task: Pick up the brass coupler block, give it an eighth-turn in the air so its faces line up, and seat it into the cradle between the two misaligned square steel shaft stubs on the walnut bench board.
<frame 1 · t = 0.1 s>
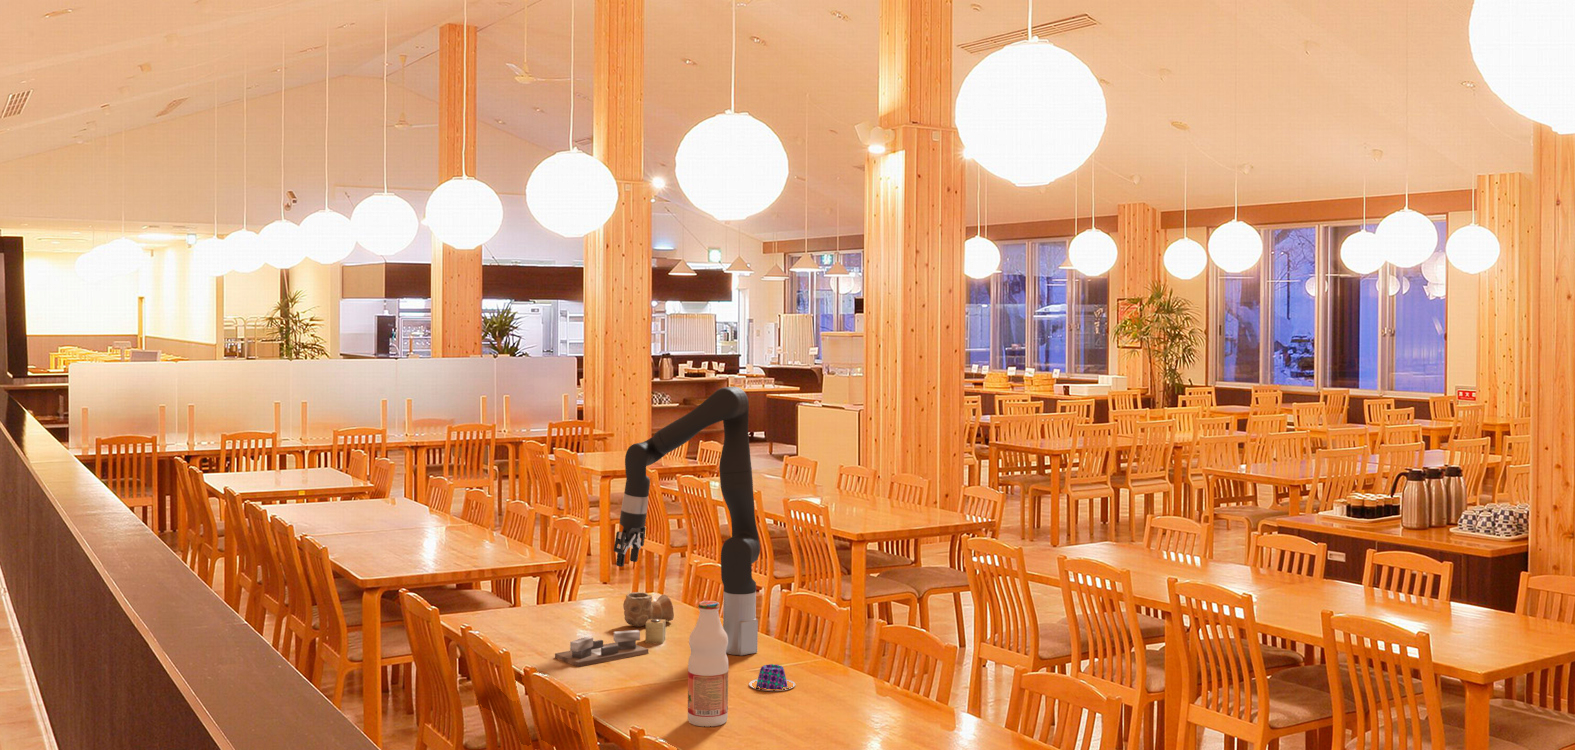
hand: (626, 563, 373), 22 cm above the table, tool pointing down, fingers open, 8 cm apart
fruit juice: (707, 722, 298), on the table
pudding: (772, 687, 328), on the table
pipe: (648, 625, 392), on the table
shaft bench: (602, 655, 355), on the table
coupler: (655, 641, 372), on the table
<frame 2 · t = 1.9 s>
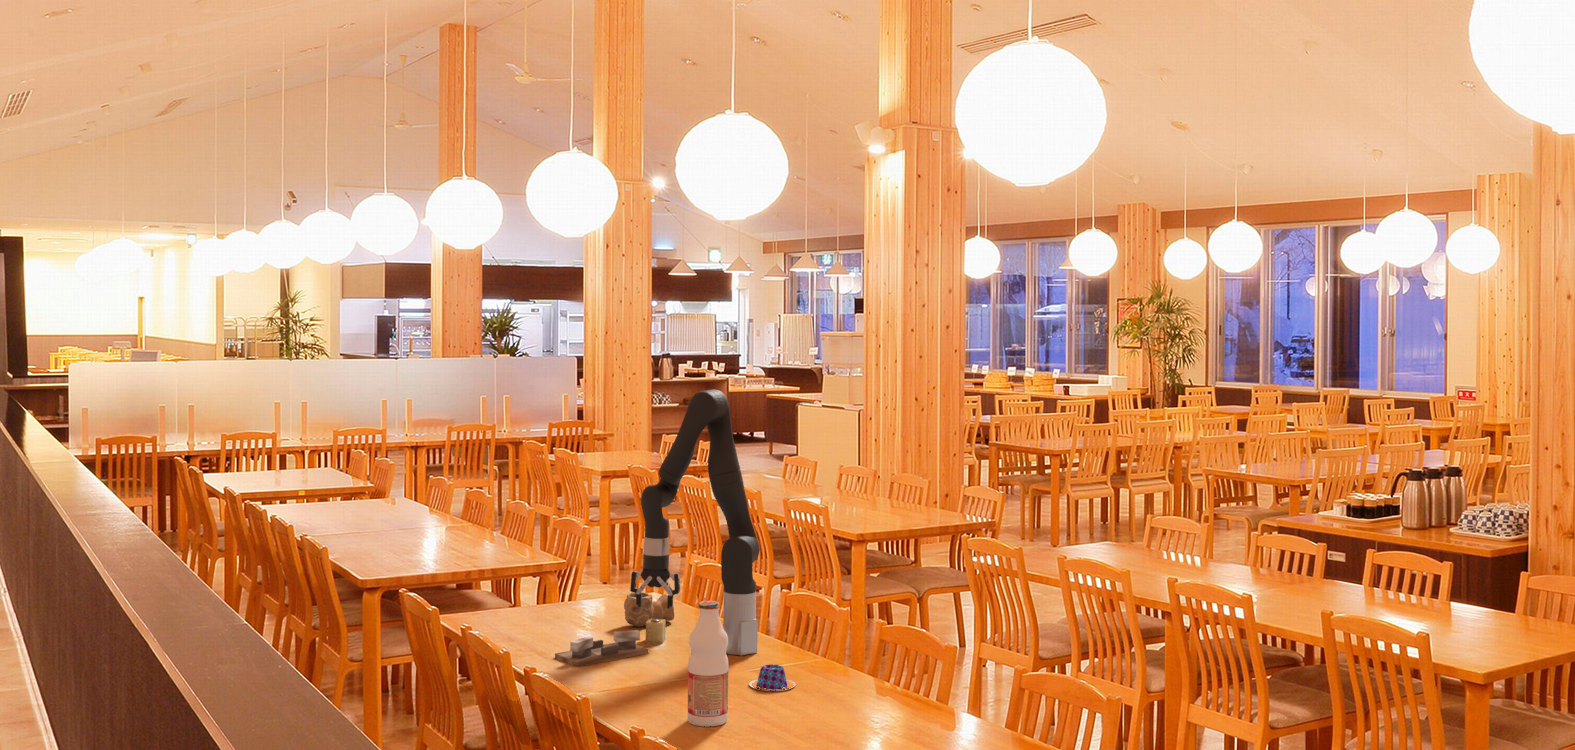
hand: (654, 607, 372), 10 cm above the table, tool pointing down, fingers open, 8 cm apart
nothing on the table moved.
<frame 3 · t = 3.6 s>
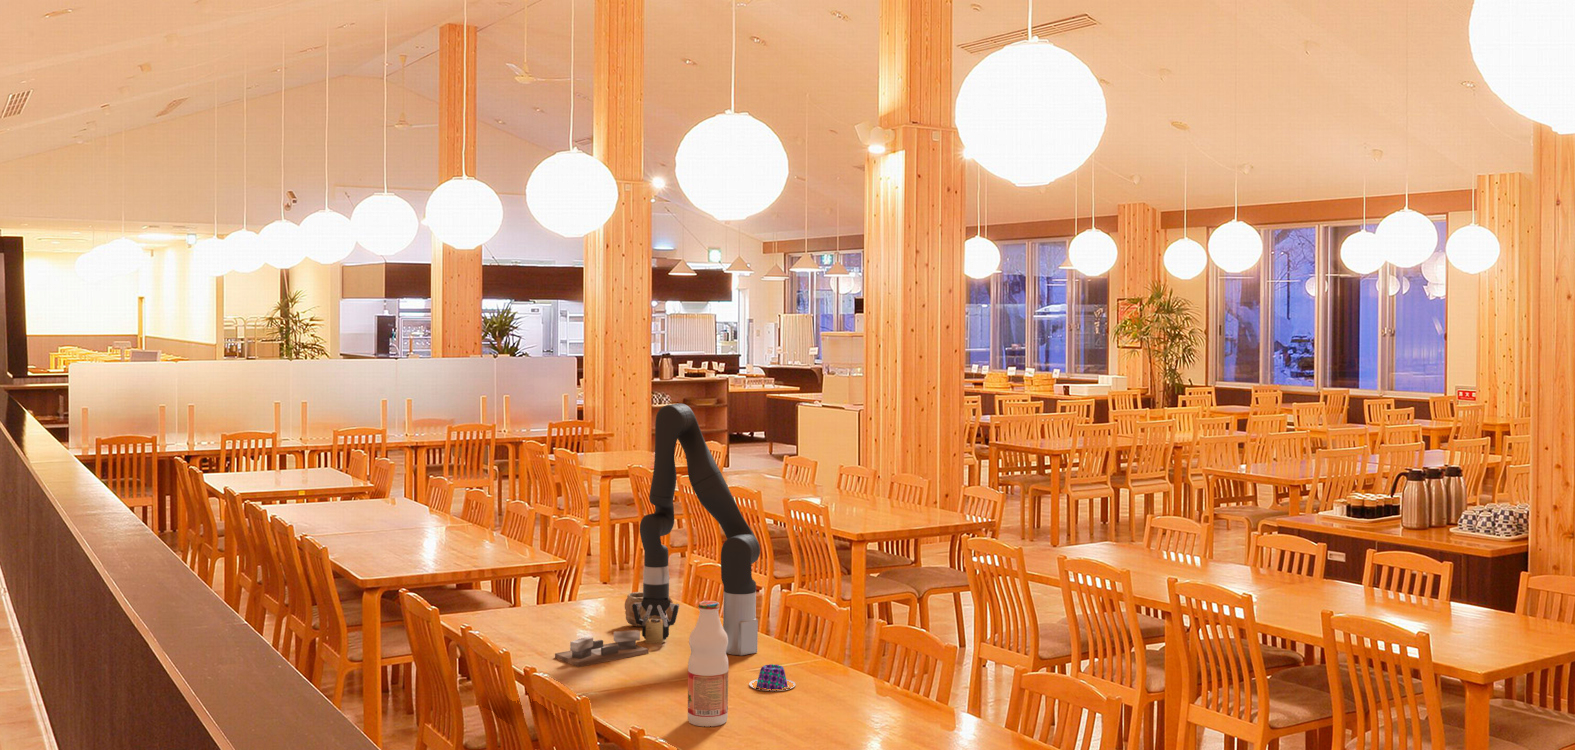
hand: (655, 638, 372), 1 cm above the table, tool pointing down, fingers closed on coupler, 5 cm apart
coupler: (655, 641, 372), on the table, touching gripper
everything else where it was.
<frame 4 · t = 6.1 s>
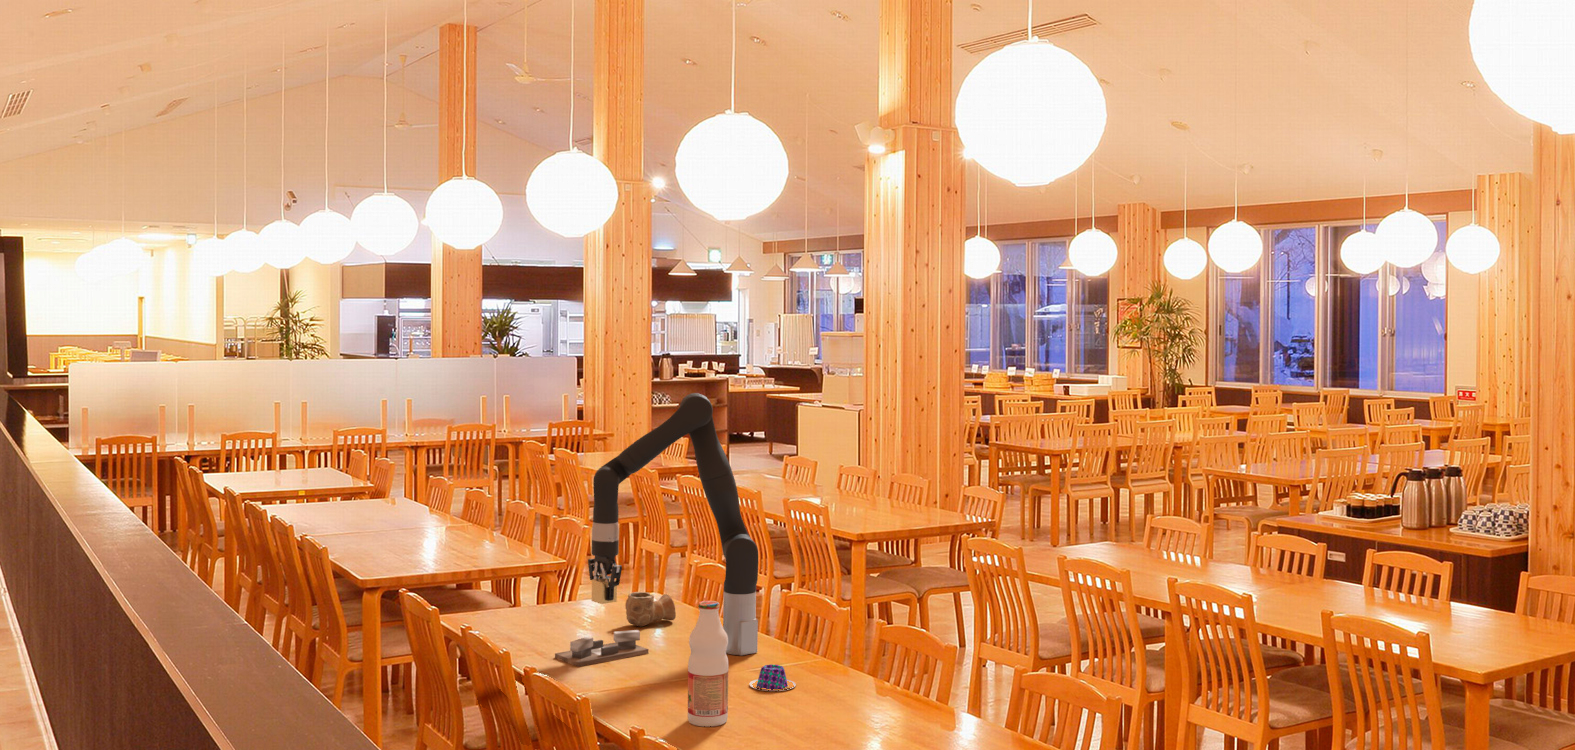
hand: (604, 598, 356), 16 cm above the table, tool pointing down, fingers closed on coupler, 5 cm apart
coupler: (604, 601, 356), point 15 cm above the table, touching gripper
everything else where it was.
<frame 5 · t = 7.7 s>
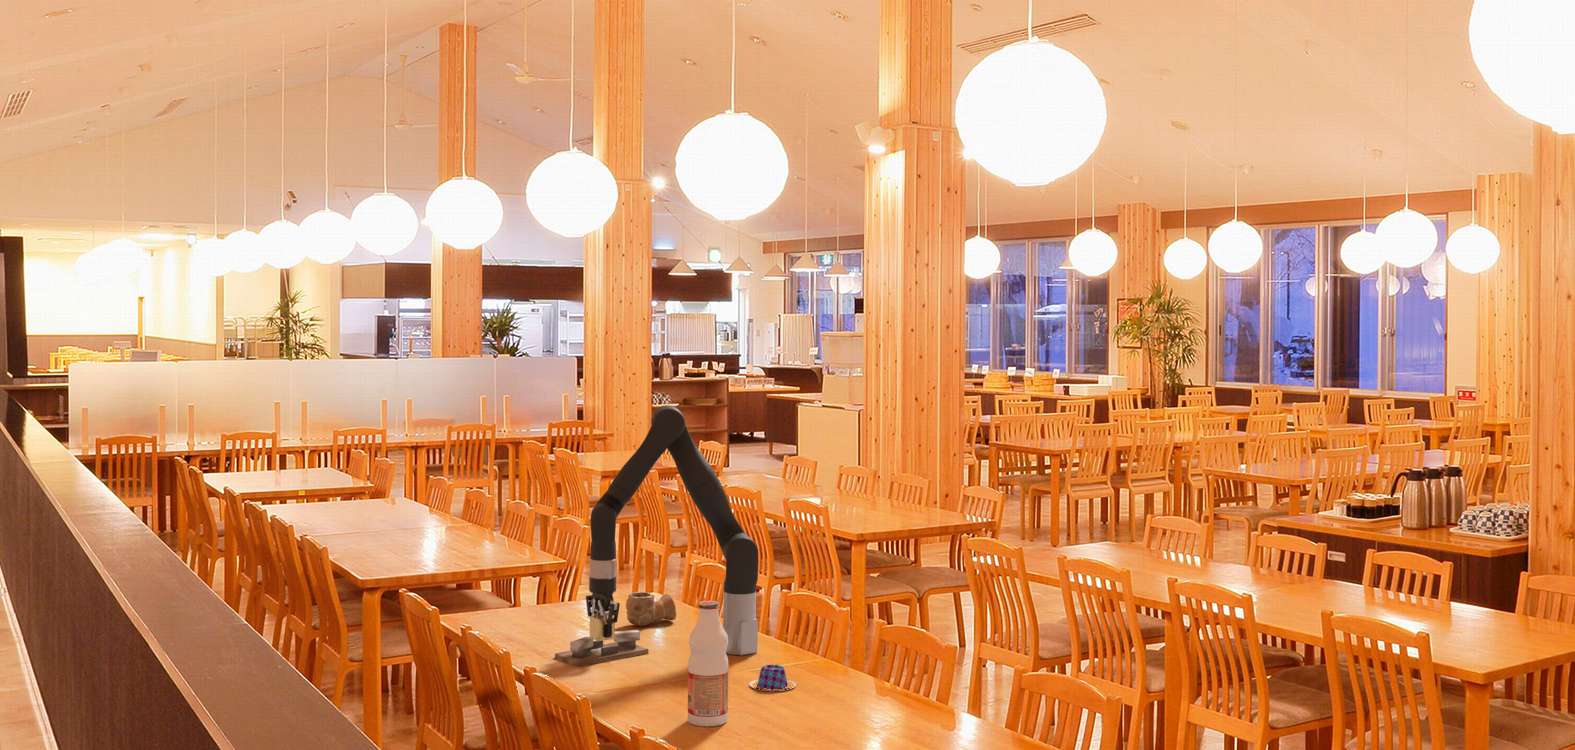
hand: (602, 635, 355), 6 cm above the table, tool pointing down, fingers closed on coupler, 5 cm apart
coupler: (602, 638, 355), point 5 cm above the table, touching gripper
everything else where it was.
when the fingers open (5 cm above the table, at t = 8.8 s): coupler drops 2 cm, resting on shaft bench.
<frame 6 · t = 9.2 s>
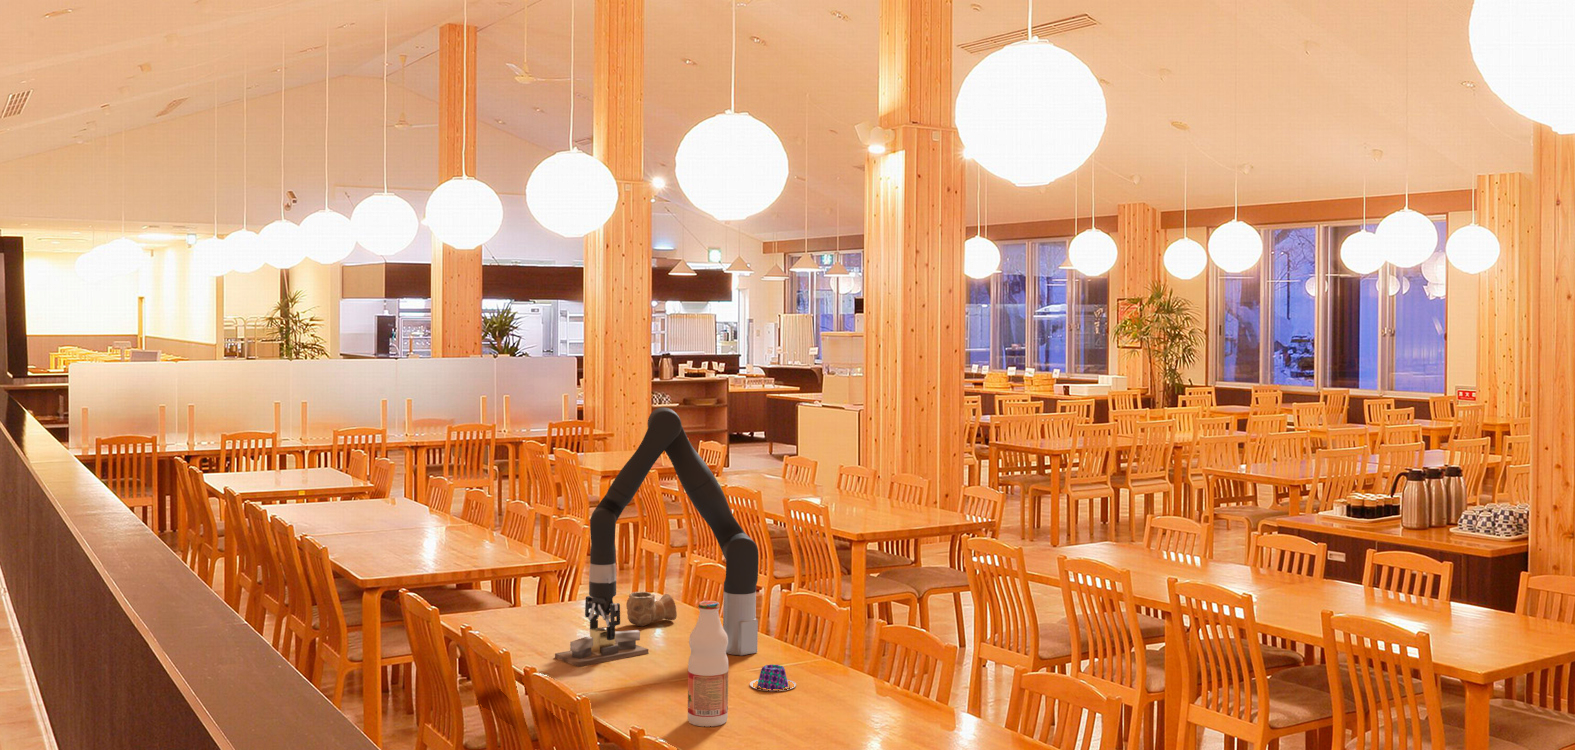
hand: (602, 636, 355), 5 cm above the table, tool pointing down, fingers open, 8 cm apart
coupler: (602, 650, 355), point 1 cm above the table, touching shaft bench
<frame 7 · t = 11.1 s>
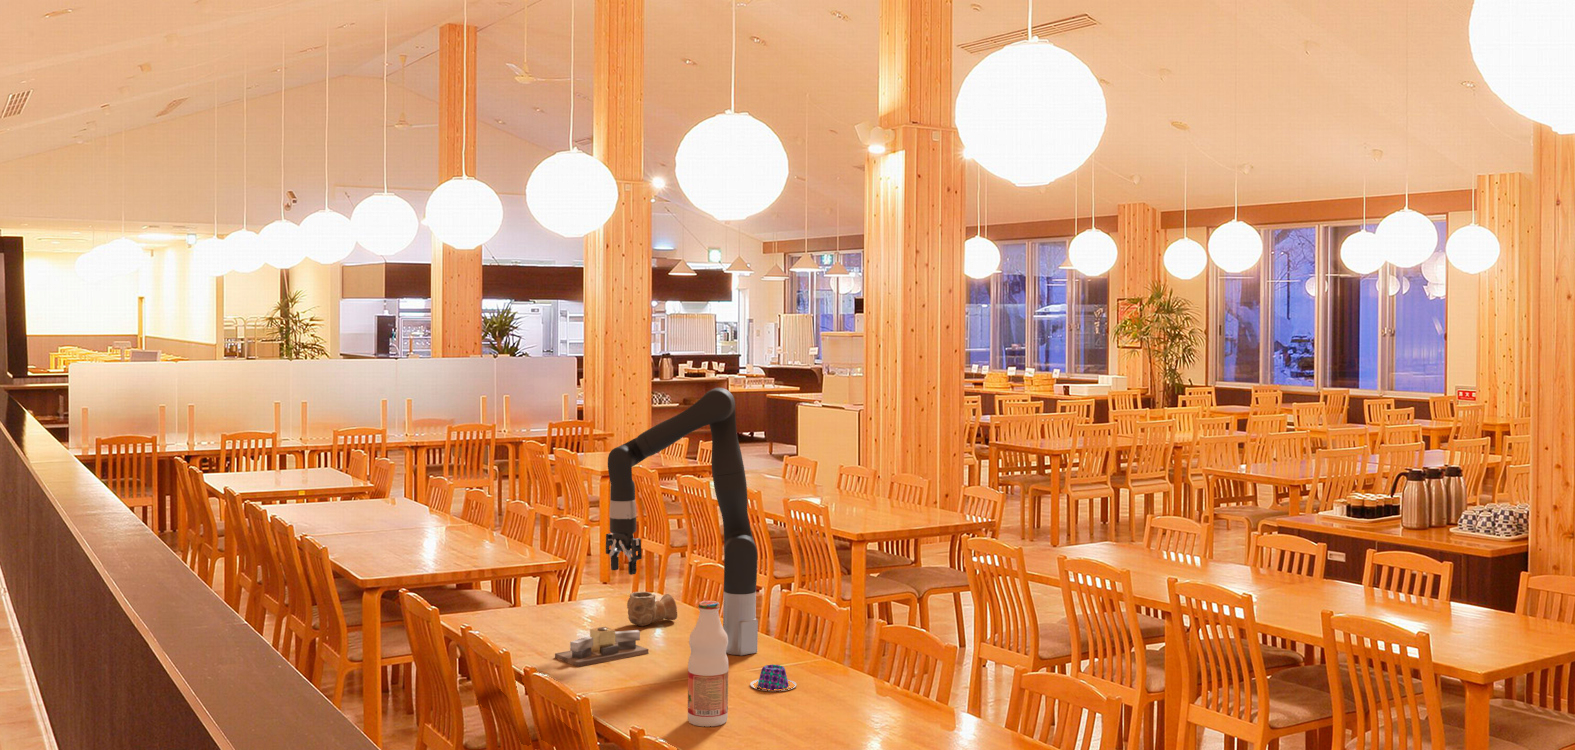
hand: (623, 572, 364), 22 cm above the table, tool pointing down, fingers open, 8 cm apart
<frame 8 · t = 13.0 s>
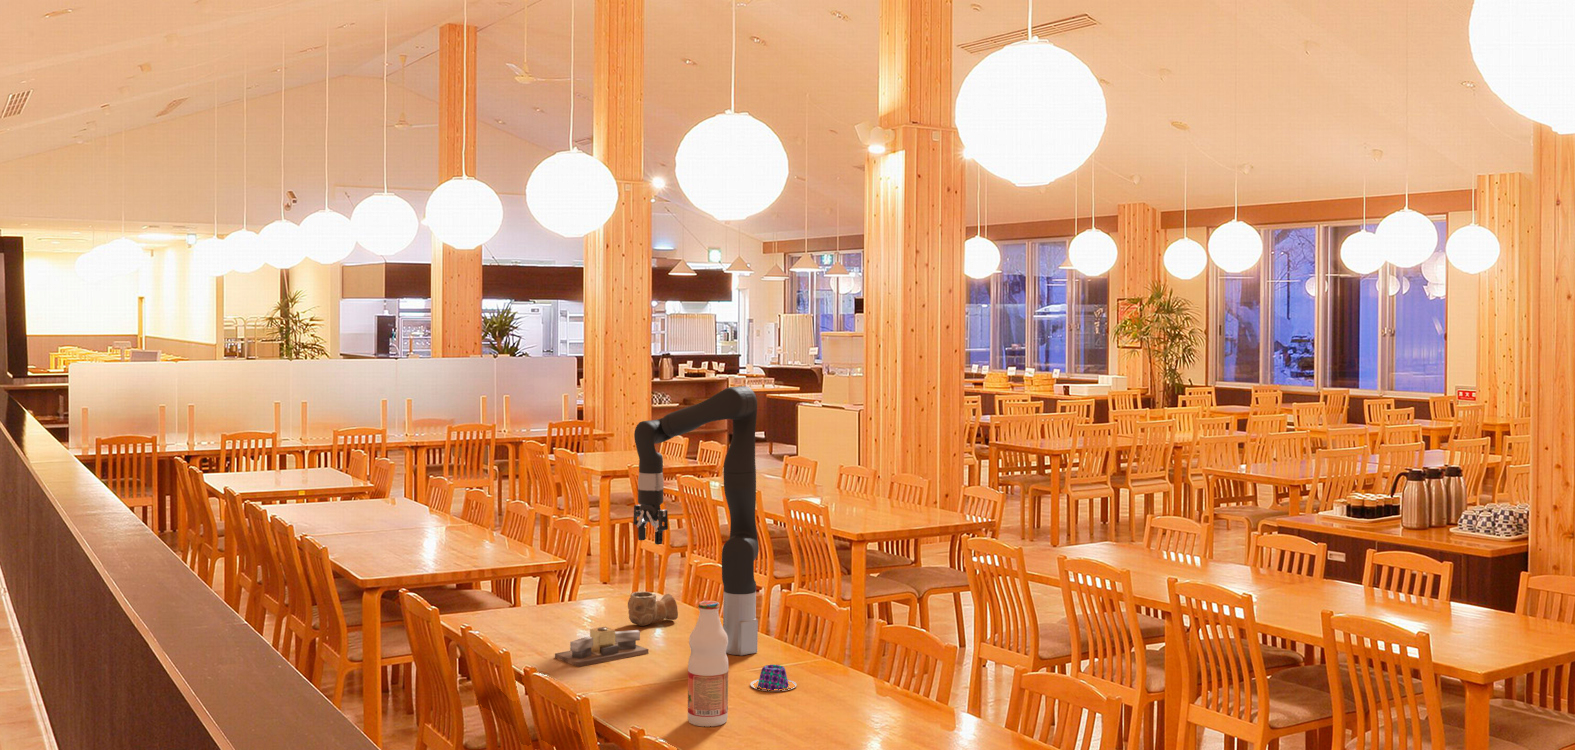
hand: (650, 542, 377), 28 cm above the table, tool pointing down, fingers open, 8 cm apart
at the end: coupler 0.1 cm off-centre on the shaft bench, point 1.3 cm above the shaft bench's base; coupler tilted 0°; the gripper is holding nothing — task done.
